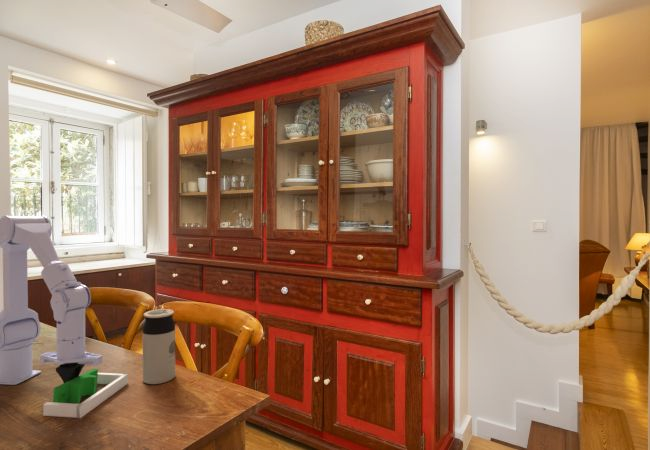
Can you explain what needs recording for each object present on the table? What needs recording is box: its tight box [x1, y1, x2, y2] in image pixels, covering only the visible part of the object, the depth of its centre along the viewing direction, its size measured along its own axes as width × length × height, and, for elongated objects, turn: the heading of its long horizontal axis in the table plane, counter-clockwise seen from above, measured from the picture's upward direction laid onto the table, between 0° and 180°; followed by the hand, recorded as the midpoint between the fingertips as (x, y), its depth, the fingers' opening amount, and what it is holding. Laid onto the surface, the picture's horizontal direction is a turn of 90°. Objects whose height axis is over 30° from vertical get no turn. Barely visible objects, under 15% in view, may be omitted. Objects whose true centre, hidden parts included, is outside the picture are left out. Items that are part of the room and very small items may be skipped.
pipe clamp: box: [52, 368, 99, 404], centre depth 89 cm, size 11×4×5 cm, turn 167°
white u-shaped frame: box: [42, 372, 129, 419], centre depth 89 cm, size 9×17×2 cm, turn 175°
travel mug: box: [142, 308, 176, 385], centre depth 100 cm, size 8×8×18 cm
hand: (71, 392), depth 90 cm, fingers closed, pressing on pipe clamp
